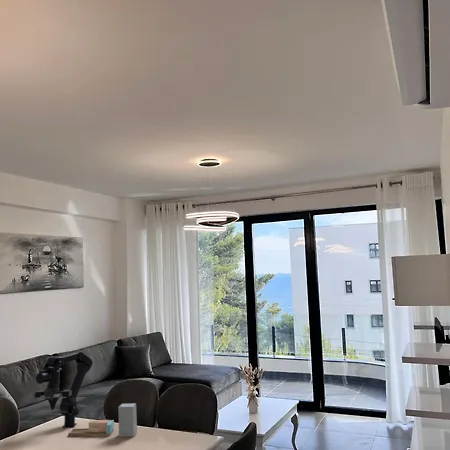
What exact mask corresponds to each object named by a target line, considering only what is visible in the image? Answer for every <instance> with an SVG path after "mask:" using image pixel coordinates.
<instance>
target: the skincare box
mask: <svg viewBox="0 0 450 450" xmlns="http://www.w3.org/2000/svg"><path fill="white" fill-rule="evenodd" d="M117 408H118V409H117V410H118V437H119V438H122V437H123V438H131V437H132V438H133V437H135V436H136V435H137V433H138V423H137V421H138V420H137V403H135V402H134V403H121V404H120V405H119V406H118V407H117Z"/></svg>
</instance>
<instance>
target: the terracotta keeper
mask: <svg viewBox="0 0 450 450" xmlns="http://www.w3.org/2000/svg"><path fill="white" fill-rule="evenodd" d="M99 420H100V421H99V422H98V432H106V429H107V424H108V422H109V421H110V419H99Z"/></svg>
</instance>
